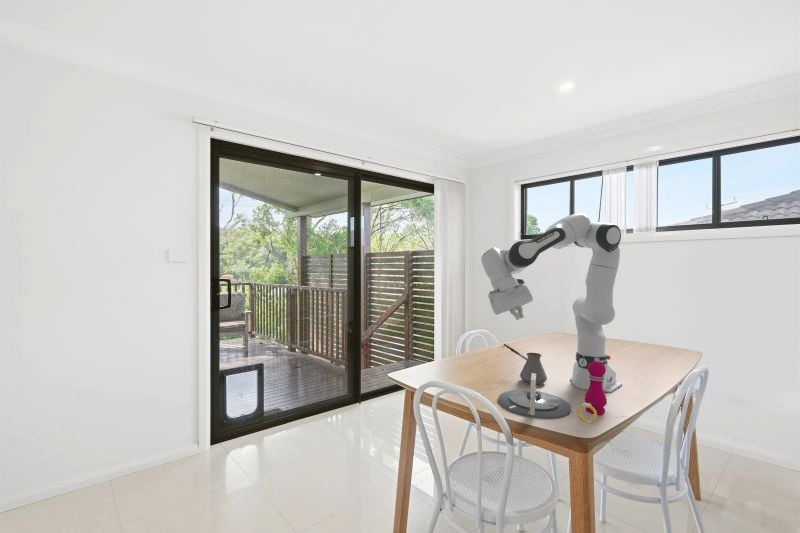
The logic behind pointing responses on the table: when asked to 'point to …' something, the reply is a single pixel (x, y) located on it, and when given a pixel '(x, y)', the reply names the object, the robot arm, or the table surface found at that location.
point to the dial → (534, 399)
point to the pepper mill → (596, 387)
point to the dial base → (560, 412)
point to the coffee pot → (531, 367)
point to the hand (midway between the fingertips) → (520, 318)
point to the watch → (588, 407)
